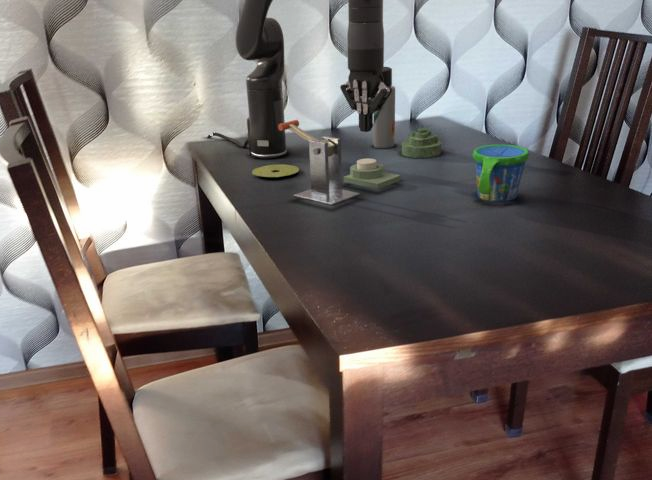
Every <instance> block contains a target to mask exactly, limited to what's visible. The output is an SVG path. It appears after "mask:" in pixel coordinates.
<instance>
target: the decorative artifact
mask: <svg viewBox="0 0 652 480" xmlns="http://www.w3.org/2000/svg"><path fill="white" fill-rule="evenodd" d="M441 154H442V141H440V140H439V135H438V134H436V133H434V134H432V130H429V129H428V128H424V125H423V124H421V125H420V127H419V128H417V131H415V130H413V131H412V132H411V133H409V134H408V138H407V140H403V141H402V142H401V155H402V156H404V157H408V158H414V159H427V158H434V157H438V156H440V155H441Z"/></svg>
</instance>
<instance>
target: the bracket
mask: <svg viewBox="0 0 652 480" xmlns="http://www.w3.org/2000/svg"><path fill="white" fill-rule="evenodd" d="M324 139H326V140H327V141H329V142H331V143H332V144H334V145H335V146H334V151H333V155H332V156H329V157H328V142H322V141H321V140H324ZM321 140H319V141H316V140H310V141H309V142H308V149H309V152H308V153H309V170H310V171H309V172H310V173H309V174H310V189H307V190H304V191H301V192H299V193H296V194H294V195H293V197H294V198H298V199H302V200H304V201H305V200H306V201H310V202H313V203H318V204H324V205H327V206H331V207H332V206H335V205H338V204H341V203H343V202H346V201H348V200H351V199H354V198H356V197H359V196H361V193H360V192H356V191H352V190H347V189H343V169H342V167H343V165H342V164H343V163H342V138H339V137H333V136H327V135H324V136H322V137H321Z"/></svg>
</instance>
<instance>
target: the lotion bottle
mask: <svg viewBox="0 0 652 480" xmlns="http://www.w3.org/2000/svg"><path fill="white" fill-rule="evenodd" d="M382 76H383V79H384V81H383V83H384V84H385V85H386V86H387V88H388V87H391V88H392V93H391V94H390V96H389V97H388V99H387V100H386V102H385V103H384V105H383V106H382V108H381V109H380V110H379V111H376V112H374V113H373V127H372V129H373V130H372V131H373V132H372V133H373V134H372V135H373V140H372V141H373V147H374V148H376V149H390V148H393V147H395V142H396V141H395V138H396V133H395V132H396V86H394V85H393V68H391V67H390V66H384V67H383V69H382ZM377 95H378V94H377Z"/></svg>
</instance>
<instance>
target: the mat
mask: <svg viewBox="0 0 652 480" xmlns="http://www.w3.org/2000/svg"><path fill="white" fill-rule="evenodd" d="M299 171H300V168H299V167H298V166H295V165H292V164H279V163H278V164H269V165H264V166H260V167H256V168H254V169H253V170H252V171H251V173H252V175H253V176H257V177H263V178H280V177H286V176H291V175H294V174H296V173H298V172H299Z"/></svg>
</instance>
